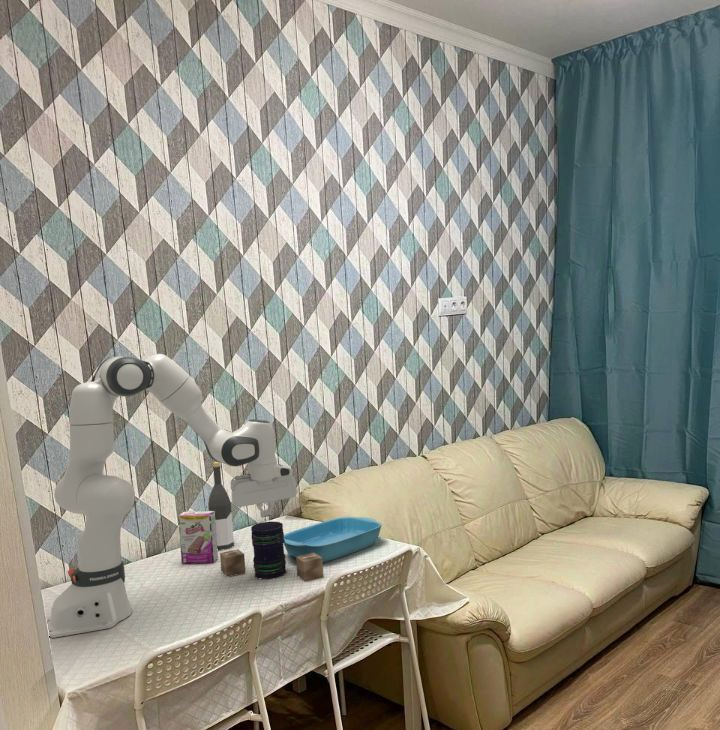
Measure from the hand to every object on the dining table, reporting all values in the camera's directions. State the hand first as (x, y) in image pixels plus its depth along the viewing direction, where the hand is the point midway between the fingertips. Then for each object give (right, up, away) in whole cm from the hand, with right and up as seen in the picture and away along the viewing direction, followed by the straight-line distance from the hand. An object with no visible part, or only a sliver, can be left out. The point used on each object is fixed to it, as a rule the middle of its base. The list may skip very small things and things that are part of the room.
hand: (266, 516), depth 215 cm
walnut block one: (+14, -17, -4) cm, 23 cm away
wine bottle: (-20, -18, +32) cm, 41 cm away
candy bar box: (-24, -19, +17) cm, 35 cm away
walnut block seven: (-11, -19, +5) cm, 22 cm away
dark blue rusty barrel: (+1, -18, +1) cm, 18 cm away
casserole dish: (+20, -16, +21) cm, 33 cm away
